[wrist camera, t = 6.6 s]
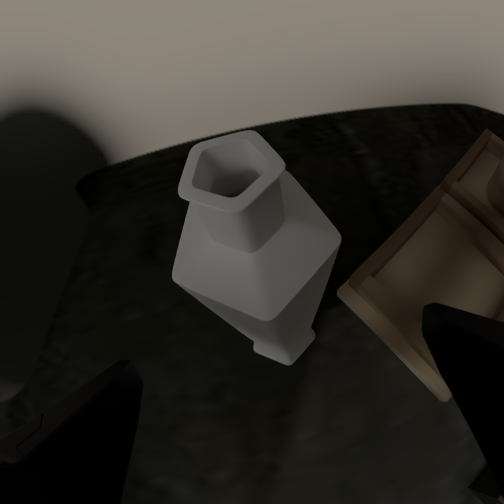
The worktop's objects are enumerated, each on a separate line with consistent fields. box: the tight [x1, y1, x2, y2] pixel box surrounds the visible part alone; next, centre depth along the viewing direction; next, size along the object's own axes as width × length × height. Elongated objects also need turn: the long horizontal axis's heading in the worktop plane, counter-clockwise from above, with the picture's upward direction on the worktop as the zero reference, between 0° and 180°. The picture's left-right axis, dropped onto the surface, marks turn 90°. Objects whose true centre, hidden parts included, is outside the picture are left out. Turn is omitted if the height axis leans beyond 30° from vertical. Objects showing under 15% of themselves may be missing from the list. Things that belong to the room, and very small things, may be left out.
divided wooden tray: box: [336, 128, 504, 402], centre depth 19 cm, size 10×21×2 cm, turn 129°
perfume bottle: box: [172, 130, 341, 365], centre depth 13 cm, size 5×4×15 cm
